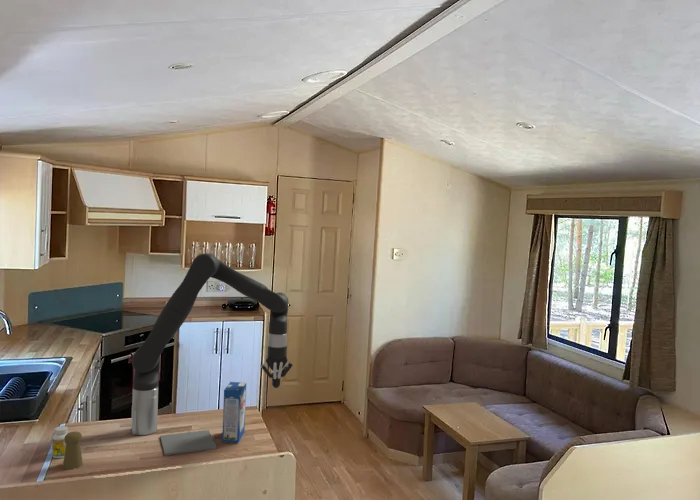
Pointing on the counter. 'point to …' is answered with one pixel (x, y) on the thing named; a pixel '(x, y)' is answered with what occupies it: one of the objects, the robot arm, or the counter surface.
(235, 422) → the milk carton
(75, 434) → the cork
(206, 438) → the mat
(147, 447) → the counter surface
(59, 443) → the supplement bottle
